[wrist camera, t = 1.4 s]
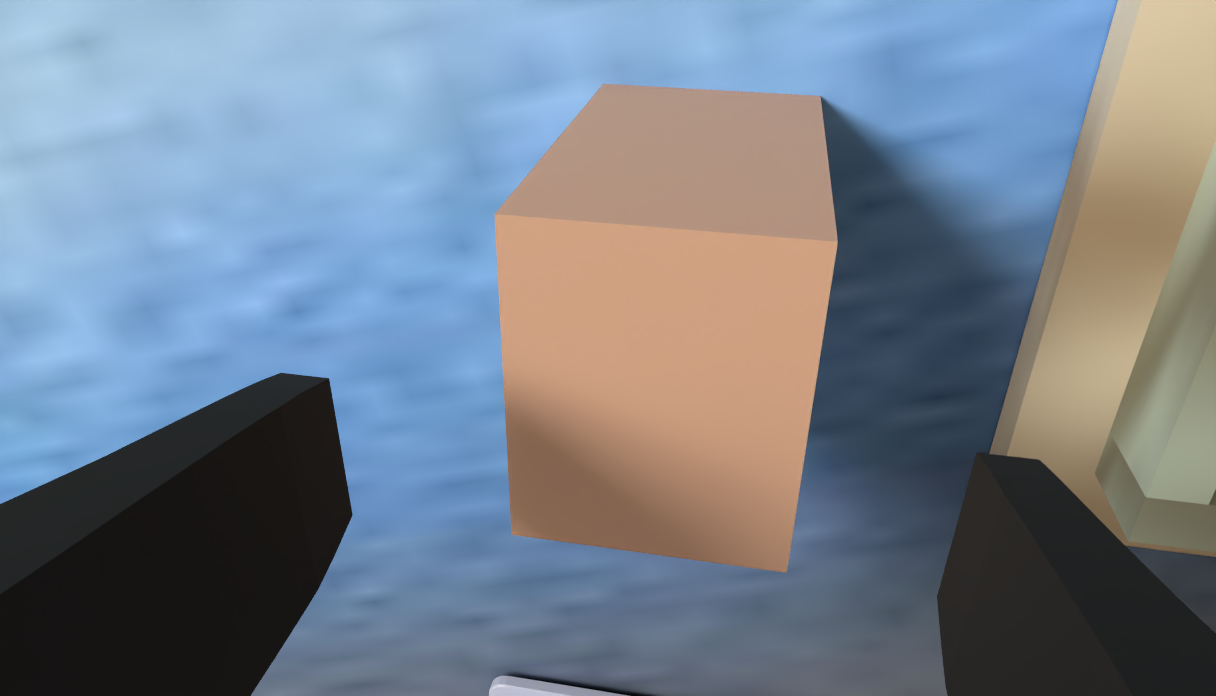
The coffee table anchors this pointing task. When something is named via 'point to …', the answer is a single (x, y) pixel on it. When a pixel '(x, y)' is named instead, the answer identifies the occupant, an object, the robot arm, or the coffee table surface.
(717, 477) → the keyed peg
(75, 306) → the coffee table surface
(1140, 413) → the socket stand
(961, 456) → the coffee table surface
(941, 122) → the coffee table surface
